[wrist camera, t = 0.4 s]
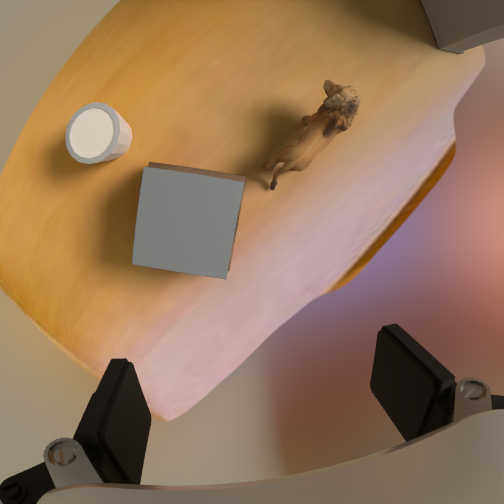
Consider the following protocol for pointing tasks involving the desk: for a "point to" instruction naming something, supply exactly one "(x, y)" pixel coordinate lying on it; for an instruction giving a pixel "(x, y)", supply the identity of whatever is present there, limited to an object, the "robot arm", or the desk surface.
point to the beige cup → (97, 134)
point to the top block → (186, 222)
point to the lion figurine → (319, 129)
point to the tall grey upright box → (465, 22)
